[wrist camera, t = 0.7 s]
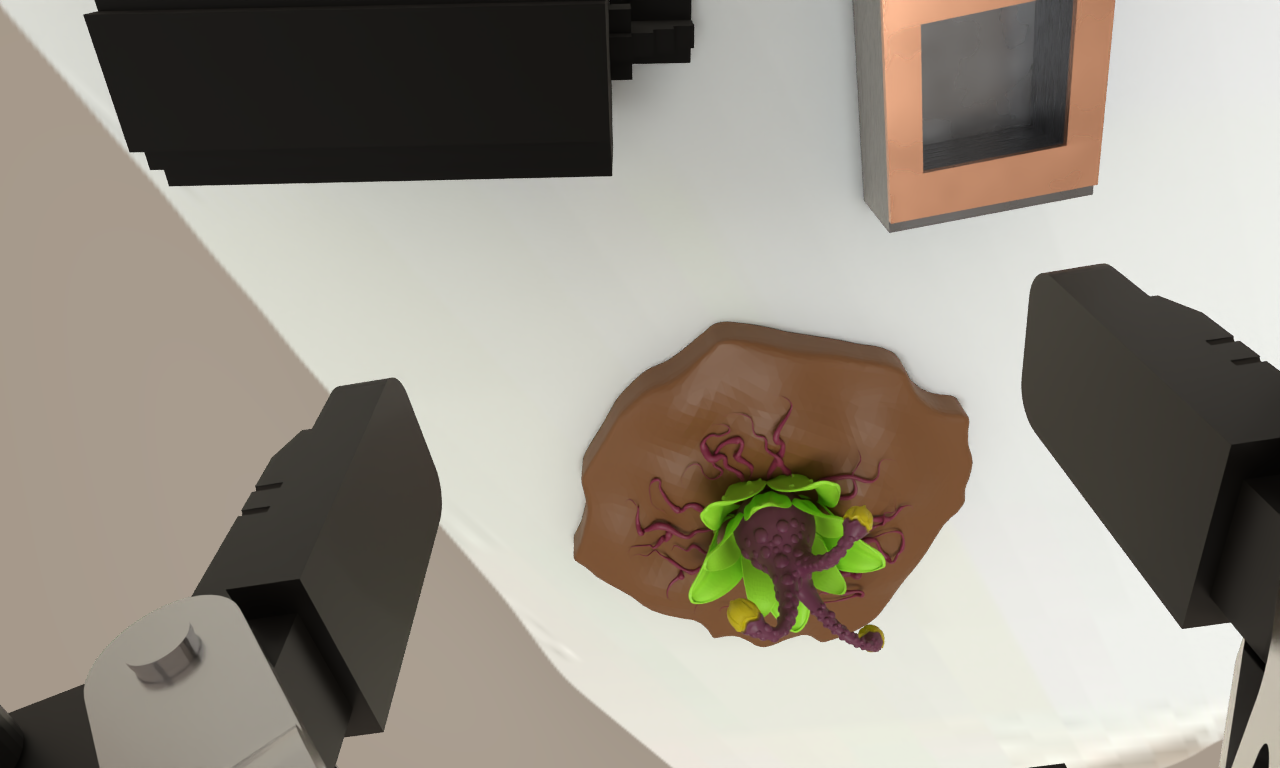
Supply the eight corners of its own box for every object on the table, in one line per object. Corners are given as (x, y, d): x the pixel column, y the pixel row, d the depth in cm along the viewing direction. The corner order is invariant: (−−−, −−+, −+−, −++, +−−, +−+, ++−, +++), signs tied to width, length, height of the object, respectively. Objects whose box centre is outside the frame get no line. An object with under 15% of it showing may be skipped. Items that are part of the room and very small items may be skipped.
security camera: (686, 114, 35) (708, 188, 26) (245, 124, 34) (121, 201, 26) (689, -75, 31) (715, -61, 22) (196, -65, 31) (33, -47, 22)
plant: (672, 263, 38) (690, 387, 29) (1016, 396, 43) (1131, 544, 33) (532, 559, 48) (510, 728, 38) (825, 645, 52) (872, 816, 42)
